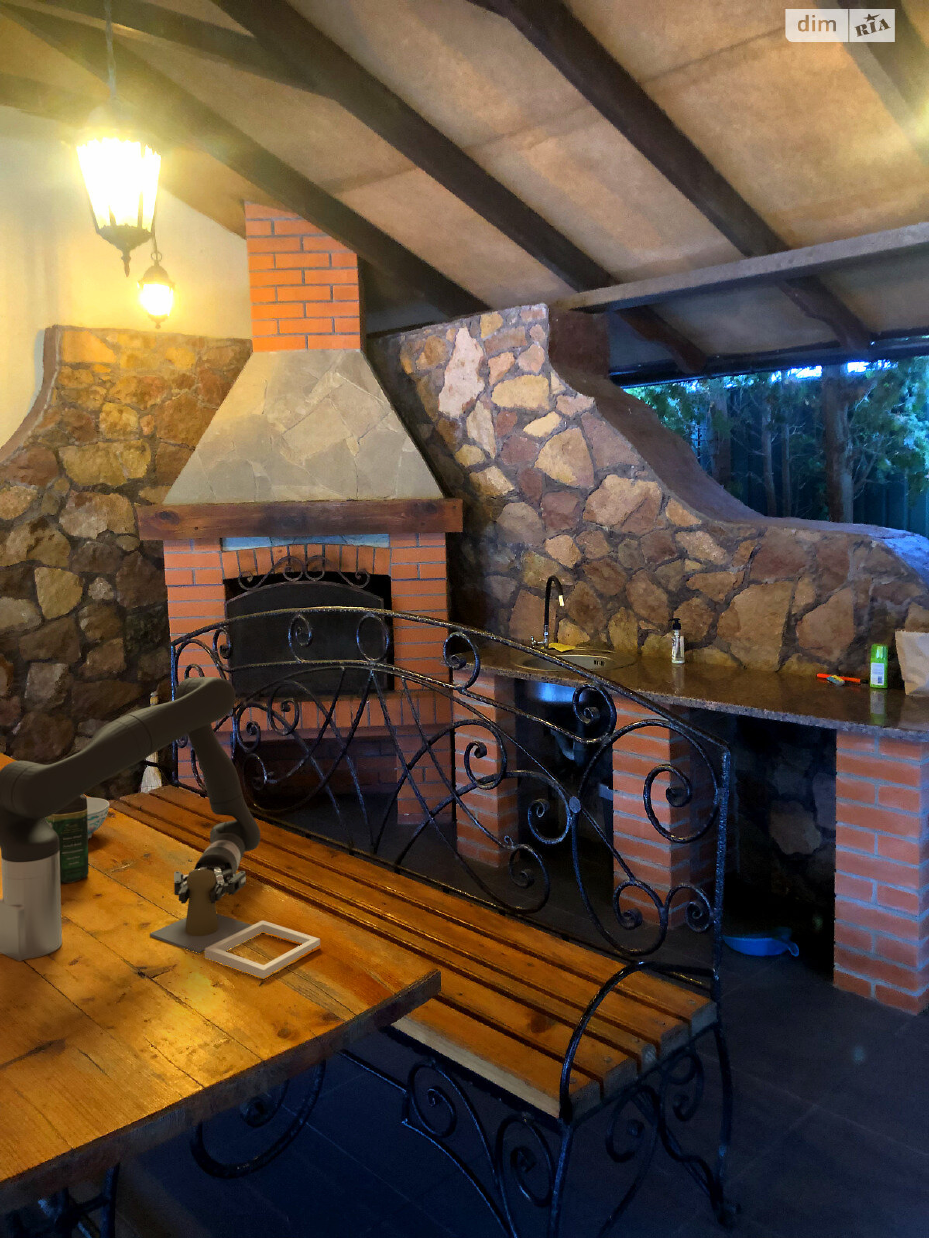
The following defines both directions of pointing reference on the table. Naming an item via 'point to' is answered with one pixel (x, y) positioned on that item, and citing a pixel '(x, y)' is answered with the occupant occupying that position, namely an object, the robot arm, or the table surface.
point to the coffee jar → (72, 839)
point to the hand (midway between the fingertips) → (198, 898)
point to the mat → (198, 943)
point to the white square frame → (219, 949)
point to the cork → (201, 904)
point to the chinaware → (96, 813)
